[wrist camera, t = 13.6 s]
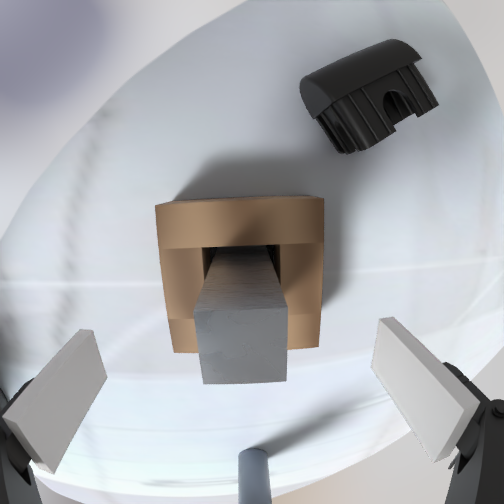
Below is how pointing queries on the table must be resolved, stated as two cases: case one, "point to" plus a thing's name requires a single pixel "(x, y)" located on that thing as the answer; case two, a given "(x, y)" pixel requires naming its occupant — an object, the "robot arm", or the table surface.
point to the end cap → (367, 95)
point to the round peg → (253, 477)
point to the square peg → (242, 319)
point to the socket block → (242, 234)
